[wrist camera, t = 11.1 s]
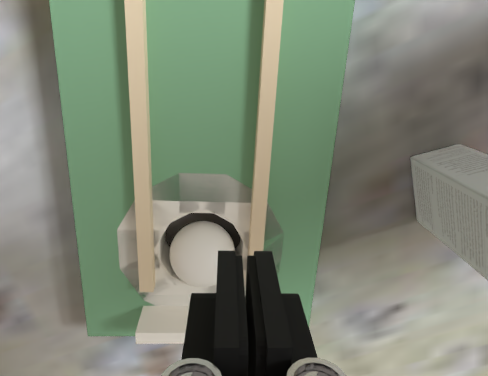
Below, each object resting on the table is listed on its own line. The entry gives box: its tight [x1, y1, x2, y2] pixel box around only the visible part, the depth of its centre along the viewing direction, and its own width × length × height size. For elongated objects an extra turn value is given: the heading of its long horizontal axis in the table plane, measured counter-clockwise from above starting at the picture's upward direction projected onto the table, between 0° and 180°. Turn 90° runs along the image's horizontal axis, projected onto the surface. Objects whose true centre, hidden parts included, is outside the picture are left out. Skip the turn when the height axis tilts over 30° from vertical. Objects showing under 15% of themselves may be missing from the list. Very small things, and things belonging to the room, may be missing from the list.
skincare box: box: [410, 144, 488, 280], centre depth 25 cm, size 6×4×12 cm
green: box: [49, 0, 355, 344], centre depth 25 cm, size 18×32×6 cm, turn 177°
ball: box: [169, 221, 235, 287], centre depth 29 cm, size 5×5×5 cm
